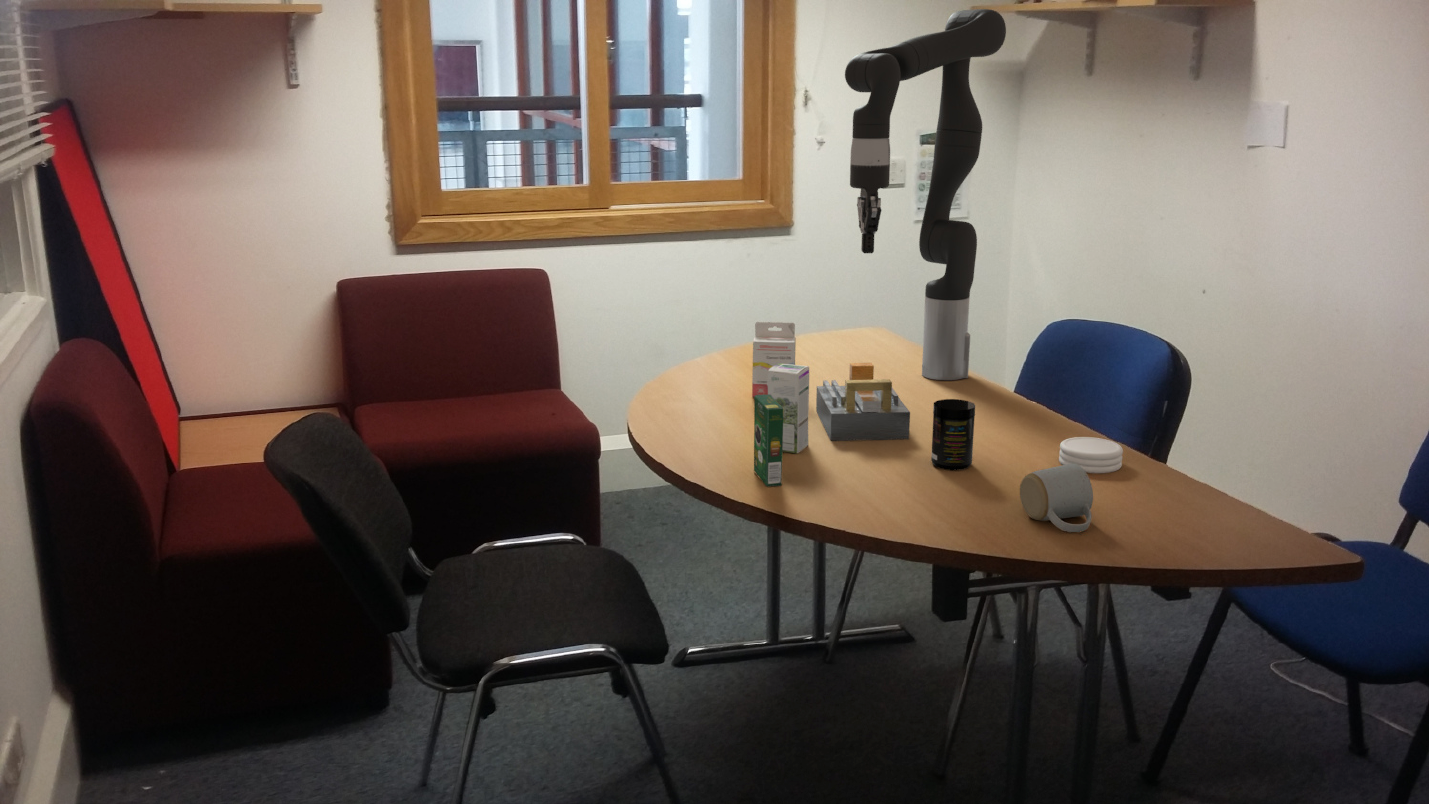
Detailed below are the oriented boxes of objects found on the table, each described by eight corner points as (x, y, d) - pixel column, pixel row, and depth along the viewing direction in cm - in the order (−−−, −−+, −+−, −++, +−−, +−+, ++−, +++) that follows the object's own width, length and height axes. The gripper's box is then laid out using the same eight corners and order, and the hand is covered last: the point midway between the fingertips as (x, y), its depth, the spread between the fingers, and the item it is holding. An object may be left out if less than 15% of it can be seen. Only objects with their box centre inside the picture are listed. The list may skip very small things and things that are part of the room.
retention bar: (870, 394, 216) (871, 362, 214) (882, 411, 204) (883, 378, 203) (849, 394, 216) (849, 363, 214) (860, 412, 204) (861, 379, 203)
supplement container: (979, 469, 191) (983, 407, 188) (943, 473, 189) (946, 411, 186) (959, 456, 197) (962, 397, 194) (923, 461, 195) (926, 401, 192)
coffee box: (783, 486, 183) (784, 406, 180) (766, 488, 182) (766, 407, 179) (770, 470, 191) (770, 393, 187) (753, 471, 190) (753, 394, 187)
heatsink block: (888, 409, 225) (890, 359, 222) (909, 439, 207) (911, 384, 204) (816, 411, 224) (817, 360, 222) (830, 440, 206) (831, 386, 203)
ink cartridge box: (751, 398, 234) (751, 326, 230) (753, 391, 239) (753, 321, 235) (794, 398, 233) (795, 326, 229) (795, 392, 238) (796, 321, 234)
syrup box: (809, 445, 204) (810, 364, 200) (797, 454, 198) (798, 372, 195) (779, 441, 206) (779, 361, 202) (766, 450, 201) (766, 369, 197)
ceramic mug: (1014, 511, 172) (1018, 462, 170) (1061, 504, 175) (1065, 456, 172) (1056, 538, 162) (1061, 486, 160) (1105, 531, 165) (1111, 480, 163)
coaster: (1046, 459, 196) (1047, 439, 195) (1095, 452, 199) (1097, 433, 198) (1083, 477, 187) (1085, 457, 186) (1134, 470, 190) (1136, 450, 189)
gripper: (896, 164, 216) (893, 257, 221) (883, 159, 229) (880, 247, 234) (856, 165, 216) (854, 258, 221) (845, 160, 229) (843, 248, 233)
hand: (867, 252), depth 227 cm, fingers closed
